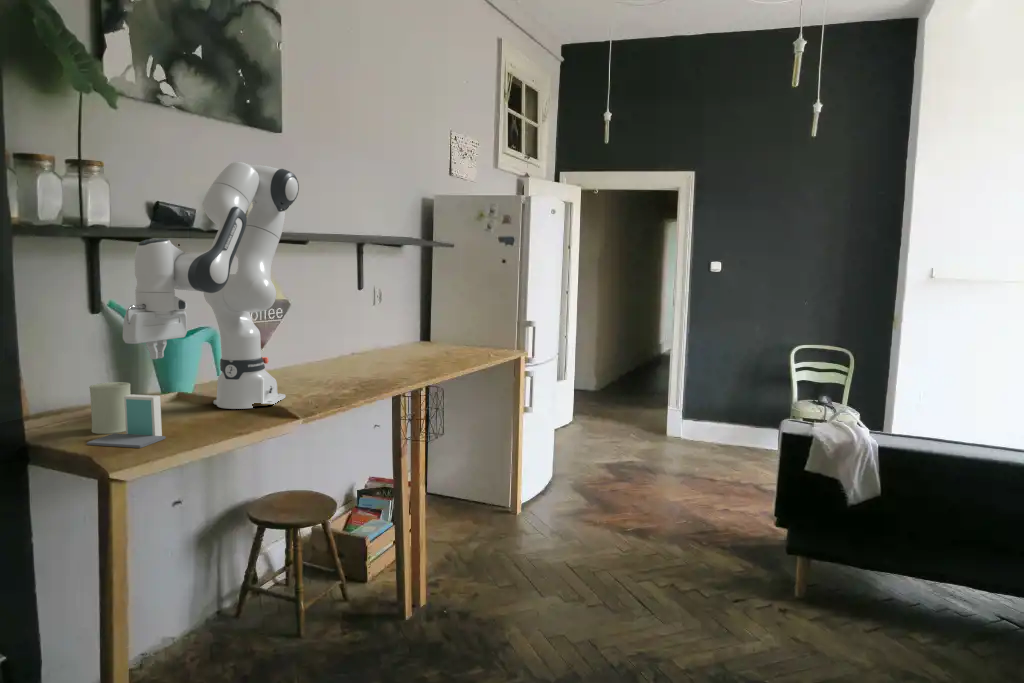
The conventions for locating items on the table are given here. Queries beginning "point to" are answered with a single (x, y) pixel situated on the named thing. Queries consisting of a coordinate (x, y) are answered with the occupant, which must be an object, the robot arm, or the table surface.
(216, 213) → the robot arm
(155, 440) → the mat
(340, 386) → the table surface
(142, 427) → the white box
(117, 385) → the pale green cylinder
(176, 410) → the table surface
